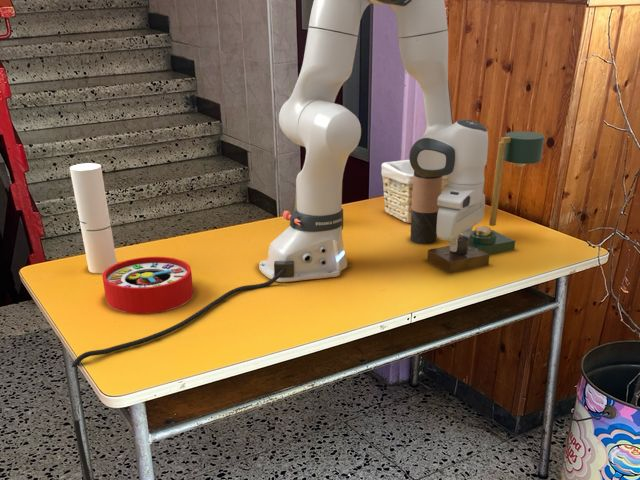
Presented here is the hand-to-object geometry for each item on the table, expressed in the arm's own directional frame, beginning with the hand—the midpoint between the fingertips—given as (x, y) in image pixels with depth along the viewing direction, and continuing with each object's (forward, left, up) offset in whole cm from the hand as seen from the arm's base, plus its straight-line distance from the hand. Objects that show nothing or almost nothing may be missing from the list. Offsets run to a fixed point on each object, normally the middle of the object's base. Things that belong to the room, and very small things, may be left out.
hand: (458, 247), depth 186 cm
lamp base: (+13, +6, -4) cm, 15 cm away
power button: (+11, +5, 0) cm, 12 cm away
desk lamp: (+24, +10, 0) cm, 26 cm away
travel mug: (+2, +19, -4) cm, 20 cm away
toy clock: (-76, +15, -4) cm, 78 cm away
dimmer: (0, 0, -4) cm, 4 cm away
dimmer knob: (0, 0, -1) cm, 1 cm away
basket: (+16, +40, -4) cm, 43 cm away
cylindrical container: (-82, +38, -4) cm, 90 cm away
